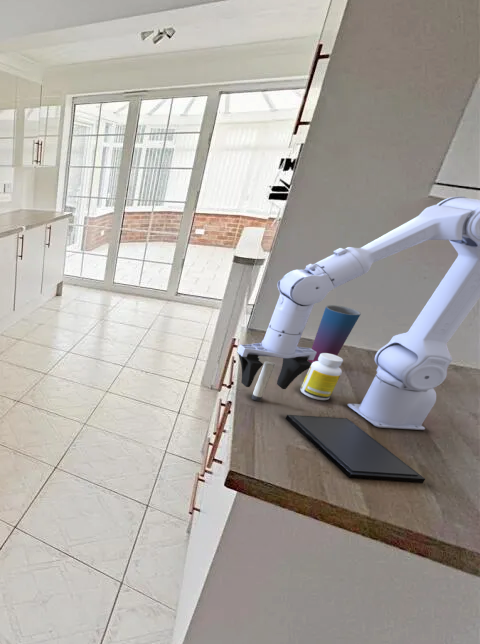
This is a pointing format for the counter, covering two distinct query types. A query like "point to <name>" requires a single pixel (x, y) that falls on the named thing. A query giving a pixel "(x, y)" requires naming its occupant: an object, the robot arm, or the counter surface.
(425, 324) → the robot arm
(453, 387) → the counter surface
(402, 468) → the tablet
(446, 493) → the counter surface
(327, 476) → the counter surface
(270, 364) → the stylus
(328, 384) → the supplement bottle
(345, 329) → the cup
